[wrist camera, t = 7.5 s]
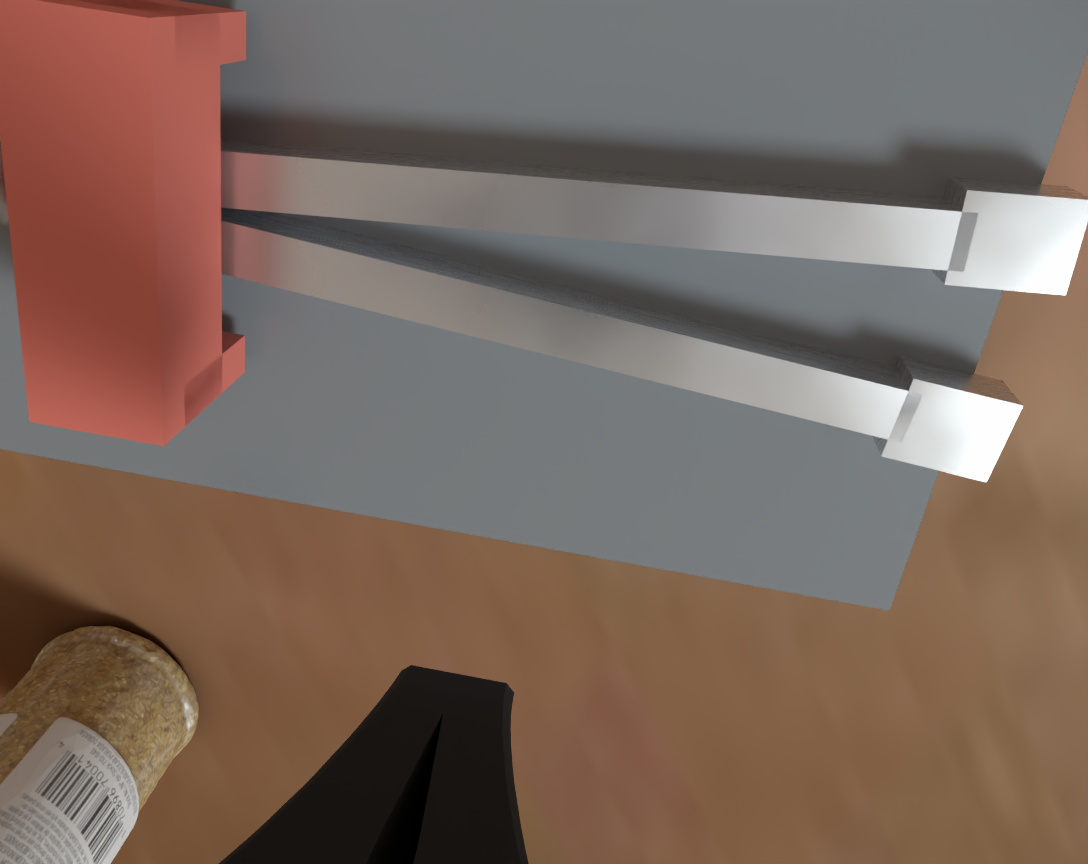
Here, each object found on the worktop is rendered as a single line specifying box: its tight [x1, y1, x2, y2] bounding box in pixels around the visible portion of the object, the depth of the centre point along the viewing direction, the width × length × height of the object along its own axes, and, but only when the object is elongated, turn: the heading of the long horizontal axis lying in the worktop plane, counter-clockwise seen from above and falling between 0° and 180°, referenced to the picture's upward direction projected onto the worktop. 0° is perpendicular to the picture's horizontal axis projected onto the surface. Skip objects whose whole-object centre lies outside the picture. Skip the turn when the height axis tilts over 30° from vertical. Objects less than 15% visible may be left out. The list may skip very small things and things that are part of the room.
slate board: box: [0, 0, 1088, 611], centre depth 19 cm, size 20×13×1 cm, turn 82°
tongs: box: [0, 139, 1088, 482], centre depth 18 cm, size 21×5×1 cm, turn 82°
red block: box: [0, 0, 246, 446], centre depth 17 cm, size 2×7×4 cm, turn 172°
